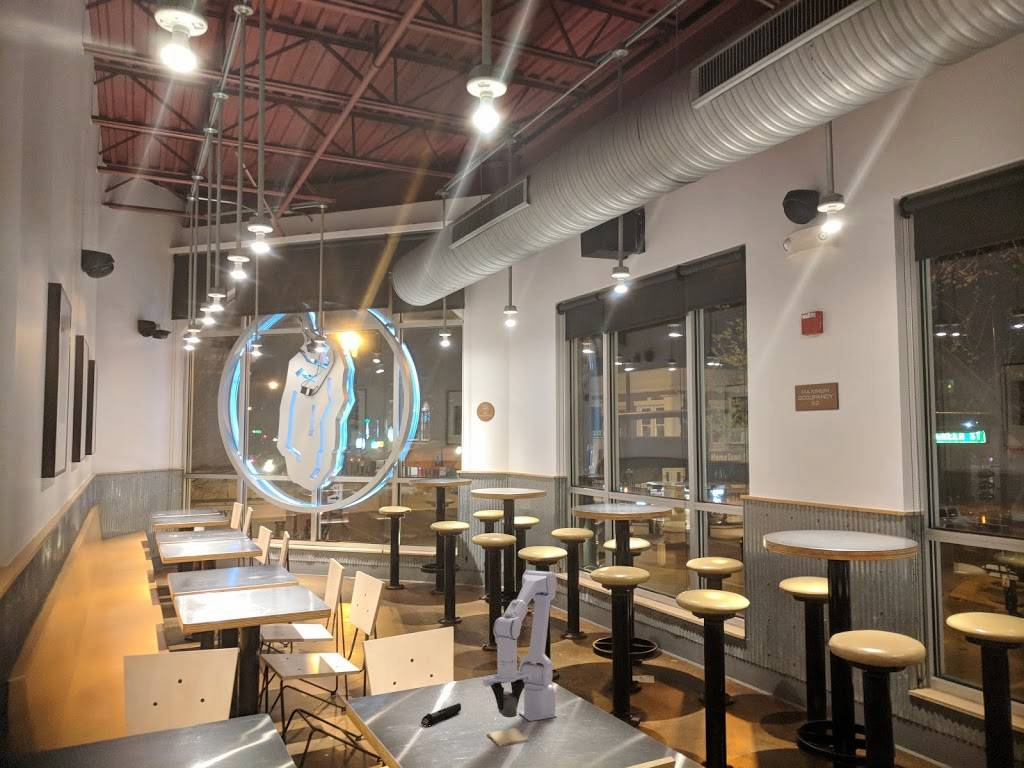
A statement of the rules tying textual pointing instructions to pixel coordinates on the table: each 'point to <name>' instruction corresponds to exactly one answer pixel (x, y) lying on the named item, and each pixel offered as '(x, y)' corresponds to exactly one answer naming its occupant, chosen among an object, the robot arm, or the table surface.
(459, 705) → the electric trimmer
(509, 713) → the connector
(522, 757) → the table surface
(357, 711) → the table surface
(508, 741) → the pad
